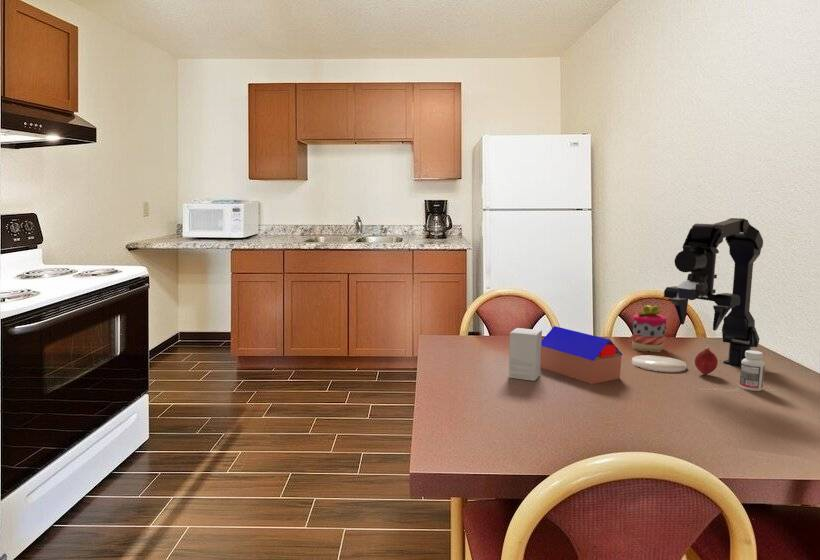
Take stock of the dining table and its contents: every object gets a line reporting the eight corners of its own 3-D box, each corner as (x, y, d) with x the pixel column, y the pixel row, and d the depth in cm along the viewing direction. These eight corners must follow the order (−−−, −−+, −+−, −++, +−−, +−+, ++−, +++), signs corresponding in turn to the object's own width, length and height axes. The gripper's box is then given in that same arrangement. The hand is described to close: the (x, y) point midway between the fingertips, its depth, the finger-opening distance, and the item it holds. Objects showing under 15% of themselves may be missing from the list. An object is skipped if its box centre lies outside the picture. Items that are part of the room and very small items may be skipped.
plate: (648, 356, 192) (648, 352, 191) (695, 367, 180) (696, 363, 180) (622, 363, 182) (622, 359, 182) (669, 375, 171) (670, 371, 171)
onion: (719, 378, 169) (721, 350, 168) (696, 376, 170) (699, 348, 169) (713, 372, 174) (715, 345, 173) (691, 371, 175) (693, 344, 174)
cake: (625, 344, 208) (628, 301, 206) (654, 344, 209) (657, 301, 207) (639, 352, 197) (643, 306, 196) (670, 352, 199) (674, 306, 197)
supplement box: (540, 375, 168) (543, 329, 166) (534, 381, 161) (536, 334, 159) (514, 371, 171) (516, 327, 169) (507, 377, 164) (509, 331, 162)
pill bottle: (747, 384, 164) (751, 348, 162) (767, 390, 159) (770, 353, 157) (734, 386, 161) (737, 350, 160) (753, 392, 156) (757, 355, 155)
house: (566, 362, 183) (568, 324, 181) (621, 379, 166) (624, 337, 165) (537, 367, 176) (539, 327, 175) (591, 385, 160) (594, 341, 158)
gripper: (654, 268, 167) (650, 324, 169) (721, 275, 152) (716, 337, 154) (677, 266, 174) (672, 320, 176) (743, 273, 159) (738, 332, 160)
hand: (698, 327), depth 166 cm, fingers open, 9 cm apart
